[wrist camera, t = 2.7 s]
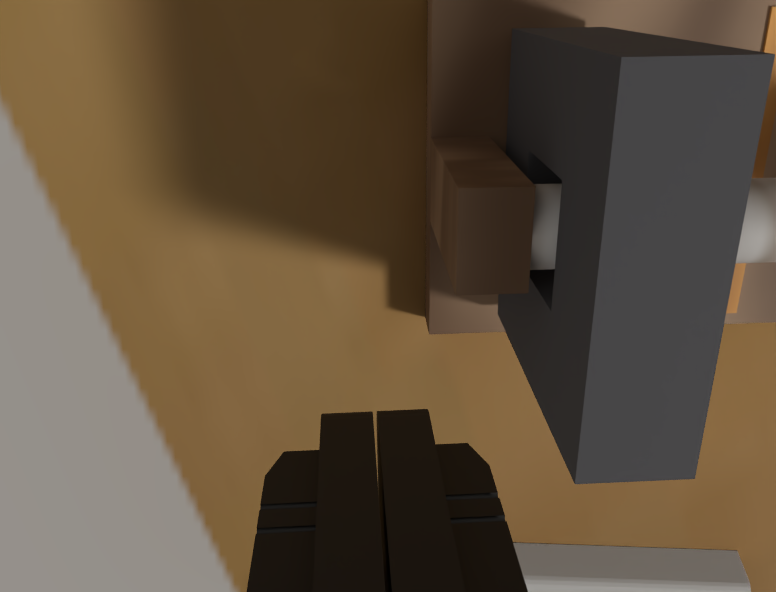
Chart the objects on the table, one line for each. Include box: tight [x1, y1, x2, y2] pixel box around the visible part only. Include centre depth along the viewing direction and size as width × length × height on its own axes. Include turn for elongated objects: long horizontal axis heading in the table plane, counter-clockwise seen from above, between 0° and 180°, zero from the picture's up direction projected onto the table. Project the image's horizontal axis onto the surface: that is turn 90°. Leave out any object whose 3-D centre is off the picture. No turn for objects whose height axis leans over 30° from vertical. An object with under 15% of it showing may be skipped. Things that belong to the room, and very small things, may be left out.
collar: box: [498, 27, 775, 484], centre depth 20 cm, size 3×10×10 cm, turn 1°
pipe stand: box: [425, 0, 776, 334], centre depth 23 cm, size 17×12×8 cm
